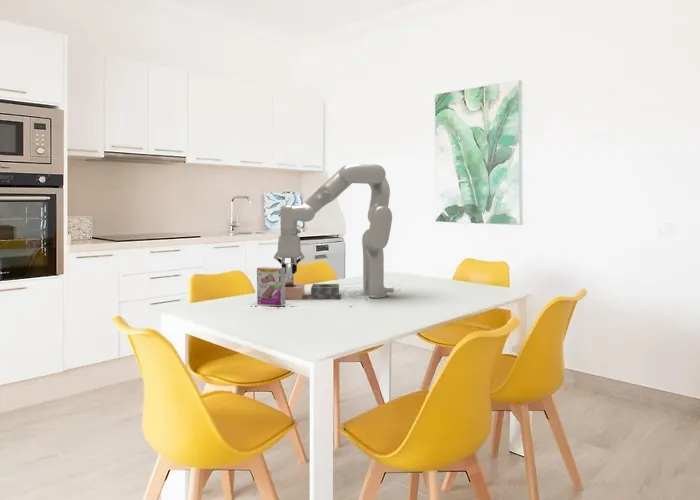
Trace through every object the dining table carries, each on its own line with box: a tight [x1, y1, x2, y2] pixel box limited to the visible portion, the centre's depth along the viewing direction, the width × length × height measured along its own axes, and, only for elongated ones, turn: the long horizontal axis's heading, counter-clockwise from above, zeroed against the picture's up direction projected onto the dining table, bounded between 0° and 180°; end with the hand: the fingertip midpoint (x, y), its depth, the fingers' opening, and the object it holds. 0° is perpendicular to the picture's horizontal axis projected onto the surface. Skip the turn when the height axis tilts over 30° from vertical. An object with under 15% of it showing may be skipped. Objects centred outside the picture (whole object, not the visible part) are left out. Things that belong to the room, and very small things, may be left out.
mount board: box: [285, 283, 342, 301], centre depth 250 cm, size 30×14×6 cm, turn 90°
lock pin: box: [284, 262, 295, 287], centre depth 249 cm, size 4×4×11 cm
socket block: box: [285, 283, 305, 299], centre depth 250 cm, size 12×12×5 cm
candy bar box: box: [256, 266, 286, 308], centre depth 233 cm, size 11×5×16 cm, turn 71°
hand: (289, 272), depth 249 cm, fingers closed on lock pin, 4 cm apart
